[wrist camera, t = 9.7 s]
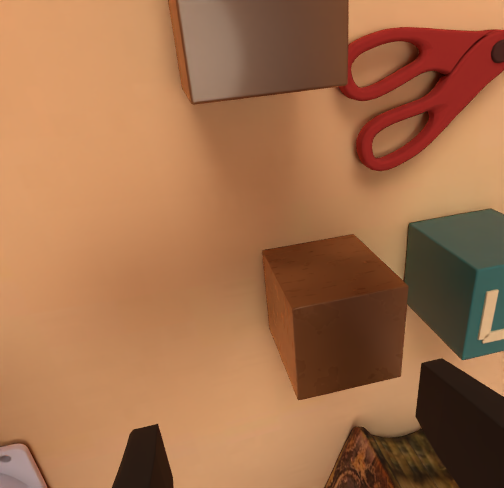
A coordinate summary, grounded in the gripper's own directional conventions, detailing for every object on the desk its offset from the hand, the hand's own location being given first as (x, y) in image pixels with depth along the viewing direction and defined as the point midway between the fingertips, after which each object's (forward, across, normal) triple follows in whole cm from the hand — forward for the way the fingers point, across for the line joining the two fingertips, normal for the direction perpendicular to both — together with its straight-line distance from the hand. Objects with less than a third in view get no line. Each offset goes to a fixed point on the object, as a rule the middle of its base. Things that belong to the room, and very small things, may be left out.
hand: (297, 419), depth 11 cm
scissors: (+10, -12, -8) cm, 17 cm away
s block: (+9, -11, +2) cm, 15 cm away
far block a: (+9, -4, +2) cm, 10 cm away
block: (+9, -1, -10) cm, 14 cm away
